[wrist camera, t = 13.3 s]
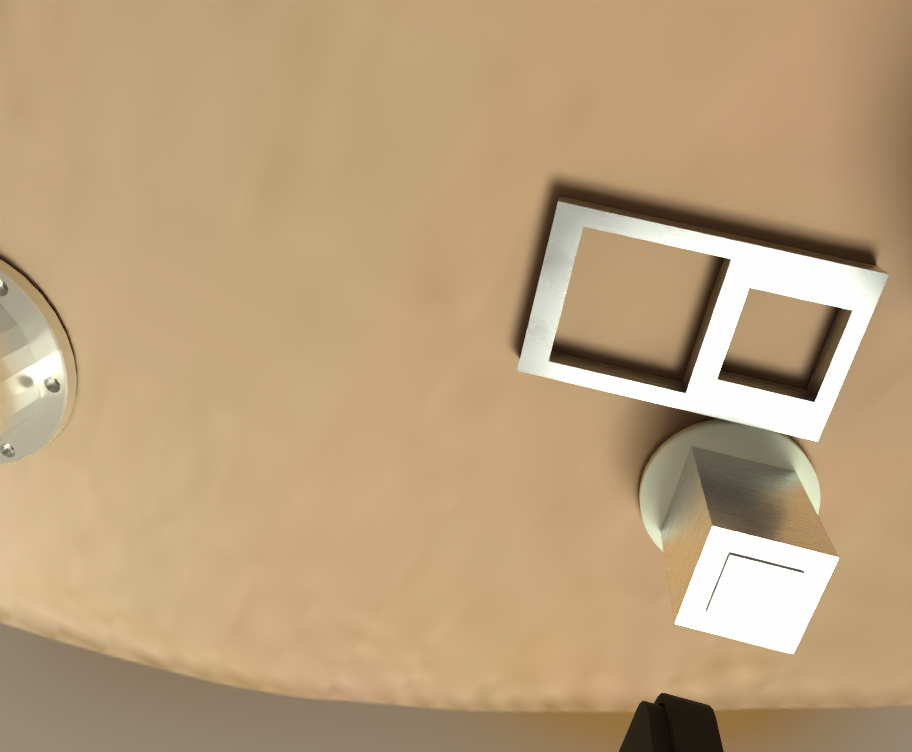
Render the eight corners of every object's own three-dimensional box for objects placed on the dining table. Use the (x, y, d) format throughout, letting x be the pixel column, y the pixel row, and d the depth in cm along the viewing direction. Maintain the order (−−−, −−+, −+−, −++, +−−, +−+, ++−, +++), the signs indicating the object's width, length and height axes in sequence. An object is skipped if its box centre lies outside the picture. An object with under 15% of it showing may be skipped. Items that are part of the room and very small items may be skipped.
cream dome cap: (619, 542, 41) (620, 551, 40) (666, 399, 38) (668, 406, 37) (780, 582, 40) (783, 592, 40) (843, 441, 37) (847, 449, 36)
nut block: (691, 445, 38) (713, 528, 31) (795, 471, 37) (840, 559, 31) (660, 531, 39) (674, 625, 33) (759, 556, 39) (794, 656, 33)
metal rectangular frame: (519, 359, 38) (517, 370, 37) (559, 195, 35) (558, 201, 33) (809, 427, 37) (817, 441, 36) (876, 265, 34) (888, 274, 33)
